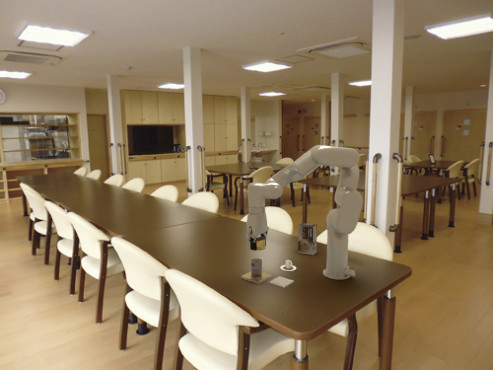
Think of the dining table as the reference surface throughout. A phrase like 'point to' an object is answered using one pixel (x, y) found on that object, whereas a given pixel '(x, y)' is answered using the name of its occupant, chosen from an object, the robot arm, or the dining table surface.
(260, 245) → the cap
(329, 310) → the dining table surface
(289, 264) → the teacup and saucer
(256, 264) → the post
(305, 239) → the coffee box
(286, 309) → the dining table surface
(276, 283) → the mat
